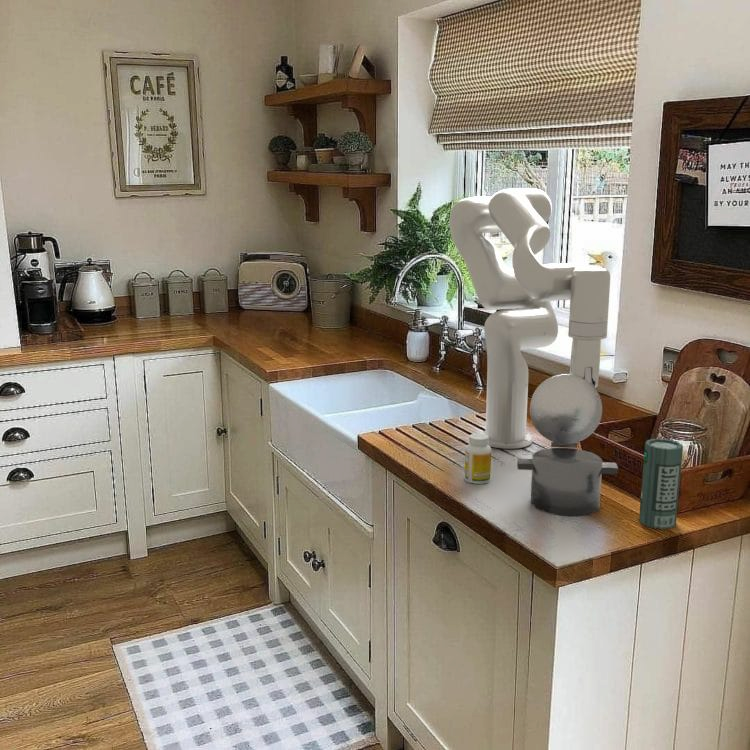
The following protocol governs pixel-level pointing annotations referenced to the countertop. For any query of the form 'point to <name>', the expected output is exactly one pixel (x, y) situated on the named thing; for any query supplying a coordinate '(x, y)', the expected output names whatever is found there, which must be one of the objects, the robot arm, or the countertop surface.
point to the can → (660, 483)
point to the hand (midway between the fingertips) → (582, 417)
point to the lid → (565, 410)
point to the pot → (566, 480)
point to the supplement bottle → (478, 459)
